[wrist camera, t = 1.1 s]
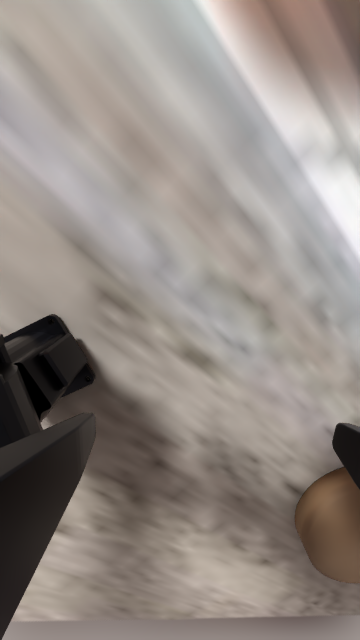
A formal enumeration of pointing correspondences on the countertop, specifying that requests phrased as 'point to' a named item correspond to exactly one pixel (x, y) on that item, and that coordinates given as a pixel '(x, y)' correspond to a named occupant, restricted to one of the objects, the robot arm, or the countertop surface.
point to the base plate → (332, 525)
